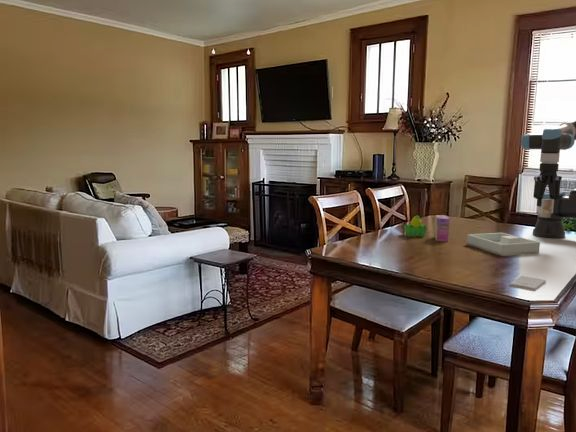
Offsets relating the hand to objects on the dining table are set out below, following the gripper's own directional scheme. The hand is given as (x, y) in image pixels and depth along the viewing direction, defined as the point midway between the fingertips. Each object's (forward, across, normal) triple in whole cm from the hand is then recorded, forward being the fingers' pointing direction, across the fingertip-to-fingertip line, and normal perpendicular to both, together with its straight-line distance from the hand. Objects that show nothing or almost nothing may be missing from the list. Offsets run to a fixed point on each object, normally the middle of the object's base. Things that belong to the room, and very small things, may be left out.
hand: (544, 212), depth 215 cm
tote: (+17, +20, -3) cm, 26 cm away
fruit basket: (+17, +43, -41) cm, 62 cm away
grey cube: (+16, +20, +2) cm, 25 cm away
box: (+17, +35, -29) cm, 48 cm away
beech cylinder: (+2, 0, 0) cm, 2 cm away
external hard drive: (+17, +50, +46) cm, 70 cm away
